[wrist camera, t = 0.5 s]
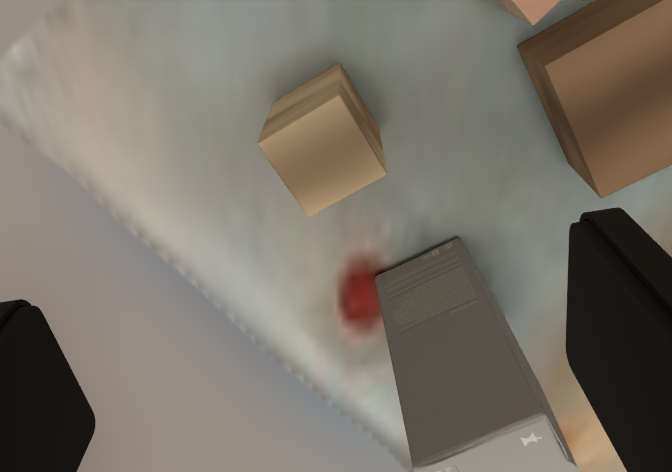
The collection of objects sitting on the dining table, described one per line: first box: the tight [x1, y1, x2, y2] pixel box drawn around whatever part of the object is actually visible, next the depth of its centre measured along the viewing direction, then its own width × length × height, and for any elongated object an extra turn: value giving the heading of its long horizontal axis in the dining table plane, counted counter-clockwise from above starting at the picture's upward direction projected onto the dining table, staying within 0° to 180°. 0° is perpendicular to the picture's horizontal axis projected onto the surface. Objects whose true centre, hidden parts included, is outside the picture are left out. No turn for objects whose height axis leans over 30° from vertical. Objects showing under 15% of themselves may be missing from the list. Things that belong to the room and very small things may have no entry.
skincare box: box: [375, 238, 580, 472], centre depth 33 cm, size 8×7×16 cm
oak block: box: [257, 62, 387, 218], centre depth 31 cm, size 4×4×7 cm
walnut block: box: [517, 0, 672, 198], centre depth 30 cm, size 8×8×5 cm
